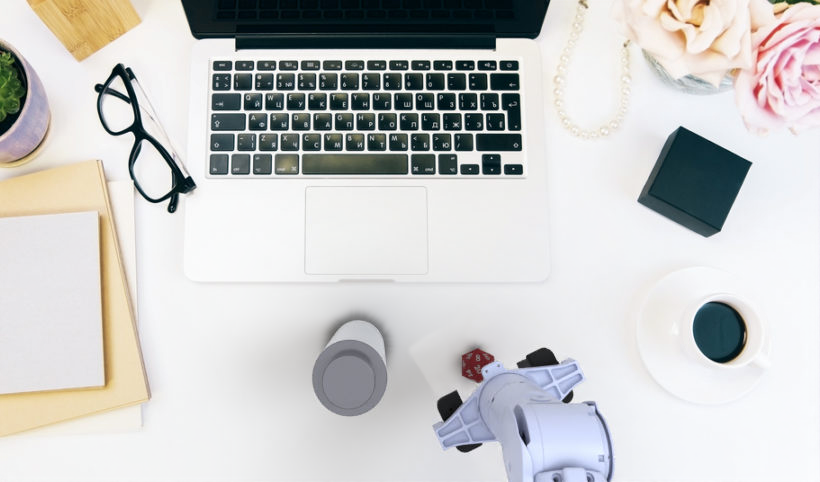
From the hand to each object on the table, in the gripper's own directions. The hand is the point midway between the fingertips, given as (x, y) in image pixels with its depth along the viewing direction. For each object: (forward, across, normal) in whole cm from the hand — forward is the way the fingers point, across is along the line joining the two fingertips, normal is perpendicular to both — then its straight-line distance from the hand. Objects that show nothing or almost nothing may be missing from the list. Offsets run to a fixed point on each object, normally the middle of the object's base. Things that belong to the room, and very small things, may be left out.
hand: (491, 386), depth 63 cm
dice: (+9, 0, -1) cm, 9 cm away
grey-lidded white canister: (+9, +12, -9) cm, 17 cm away
